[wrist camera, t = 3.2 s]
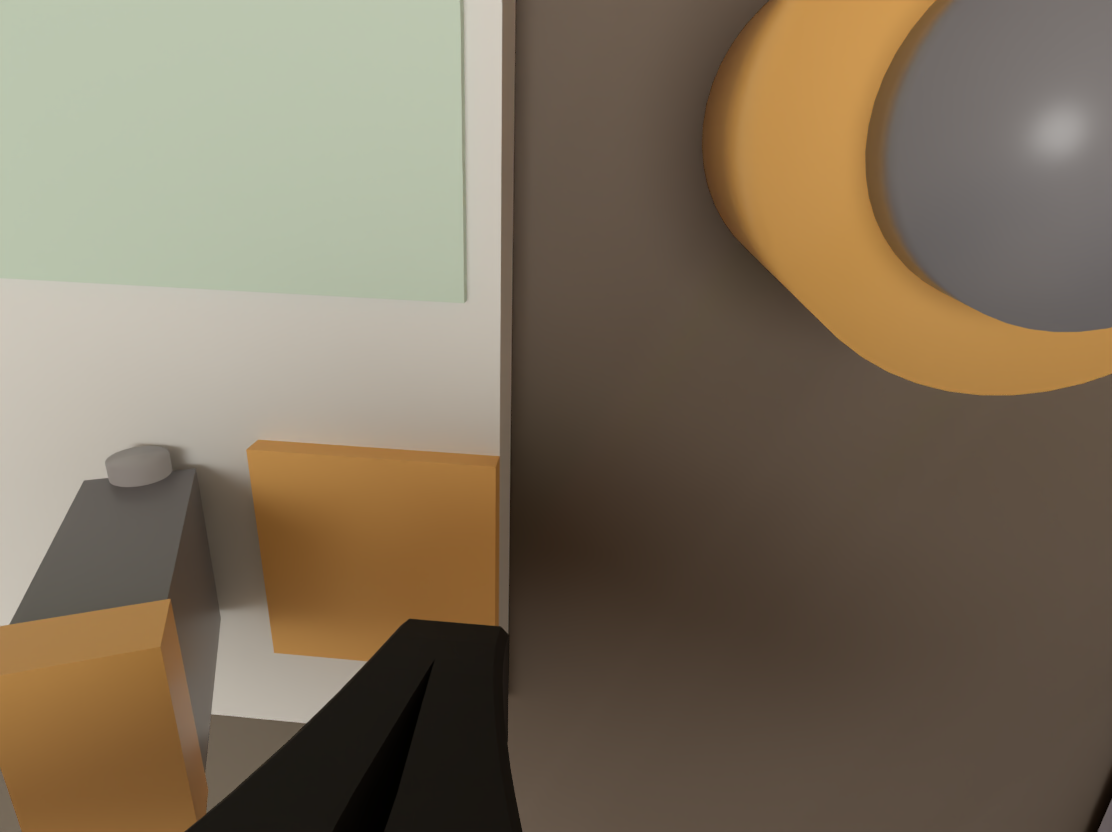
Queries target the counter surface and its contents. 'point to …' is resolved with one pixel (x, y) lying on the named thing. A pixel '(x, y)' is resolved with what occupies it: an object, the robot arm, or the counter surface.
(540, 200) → the counter surface
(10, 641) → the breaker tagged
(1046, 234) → the cap
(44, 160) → the panel
